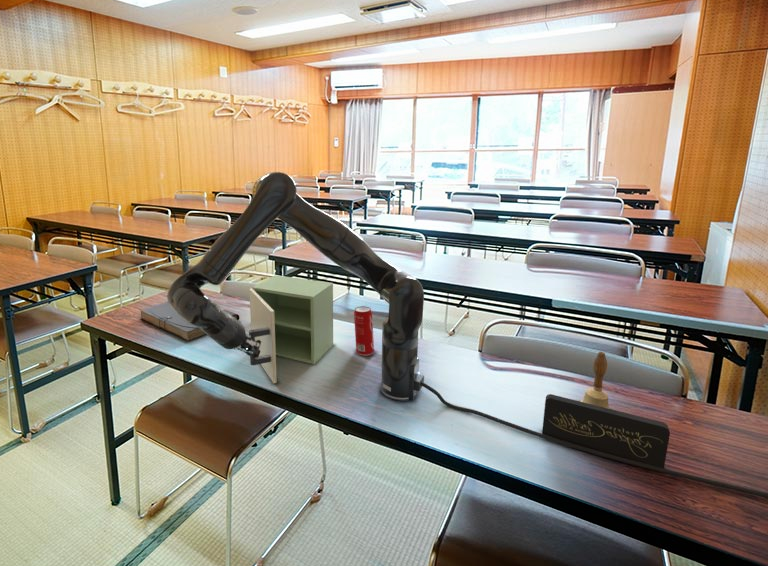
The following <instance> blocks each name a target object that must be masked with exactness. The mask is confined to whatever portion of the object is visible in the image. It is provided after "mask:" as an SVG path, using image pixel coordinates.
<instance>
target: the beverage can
mask: <svg viewBox="0 0 768 566" xmlns="http://www.w3.org/2000/svg"><path fill="white" fill-rule="evenodd" d="M353 320H354V322H353V323H354V337H355V338H354V339H355V350H356V353H357V354H358V355H359V356H364V357H366V356H371V355H373V354H374V352H375V342H374V341H375V340H374V339H375V338H374V323H373V311H372V309H371V307H369V306H365V305H364V306H363V305H362V306H356V307H355V308H354V311H353Z"/></svg>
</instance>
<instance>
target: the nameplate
mask: <svg viewBox="0 0 768 566" xmlns="http://www.w3.org/2000/svg"><path fill="white" fill-rule="evenodd" d="M580 401H581V400H576V399H572V398H567V397H565V396H560V395H556V394H552V393H550V394H547V395H546V396H545V401H544V409H543V420H542V427H541V428H542V430H541V433H542V434H545V435H548V436H551V437H554V438H557V439H560V440H564V441H567V442H570V443H573V444H577V445H580V446H583V447H587V448H590V449H594V450H597V451H601V452H604V453H608V454H612V455H615V456H619V457H623V458H626V459H630V460H634V461H638V462H642V463H646V464H649V465H653V466H656V467H660V468H665V466H666V465H665V464H666V459H667V454H668V448H669V442H670V441H669V440H670V437H671V431H670V428H669V426H668V424H667V423H666V422H664V421H660V420H656V419H652V418H647V417H644V416H640V415H636V414H632V413H627V412H625V411H620V410H616V409H612V408H610V409H608V408H604V407H600V406H596V405H592V404H588V403H584V402H580ZM652 471H653V472H655V471H654V470H652ZM657 472H658V471H656V473H657ZM658 473H659V472H658Z"/></svg>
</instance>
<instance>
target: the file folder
mask: <svg viewBox="0 0 768 566" xmlns="http://www.w3.org/2000/svg"><path fill="white" fill-rule="evenodd" d="M222 309H223V310H225V311H226V312H228V313H230V314H231V315H232V316H233V317H234V318H235V319H237V320H238V321H239V320H240V314H238V313H235V312H233V311H229V310H227V309H224V308H222ZM139 311H140V320H143V321H145V322H147V323H148V324H151V325H153V326H155V327H157V328H159V329H161V330H163V331H166V332H167V333H170V334H172V335H173V336H176V337H178V338H180V339H182V340H184V341H187V342H190V341H192V340H196V339H197V338H200V337H203V336H205V335H207V334H206V333H205V332H204V331H202V330H201V329H200V328H198V327H197V326H194V325H192V324H190V323H189V322H187V321H186V320H185V319H183V318H182V317H181V316H180V315H179V313H178V312H177V311H176V310H175V309H174V308H173V307H172V306H171V304H170V303H169V301H165V302H162V303H158V304H155V305H152V306H149V307H146V308H142V309H140V310H139ZM143 317H144V318H143Z"/></svg>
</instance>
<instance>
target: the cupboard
mask: <svg viewBox="0 0 768 566" xmlns="http://www.w3.org/2000/svg"><path fill="white" fill-rule="evenodd" d="M251 288H252V289H253V290H254V291H255V292H256V293H257V294H258V295H259V296H260V297H261V298H262V299H263V300H264V301H265V302H266V303H267V304H268V305H269V306H270V307H271V308H272V309H273V310H274V318H275V348H276V356H279V357H282V358H287V359H290V360H295V361H299V362H303V363H308V364H311V365H315V364H316V363H318V361H319V360H321V358H322V357H323V356H324V355H325V354H326V353H327V352H328V351H329V350H330V349H331V348H332V347H333V346H334V283H333V282H328V281H322V280H314V279H306V278H298V277H292V276H285V275H277V274H276V275H274V276H271V277H269V278H268V279H265V280H264V281H261V282H260V283H258V284H256V285H254V286H252V287H251Z"/></svg>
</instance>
